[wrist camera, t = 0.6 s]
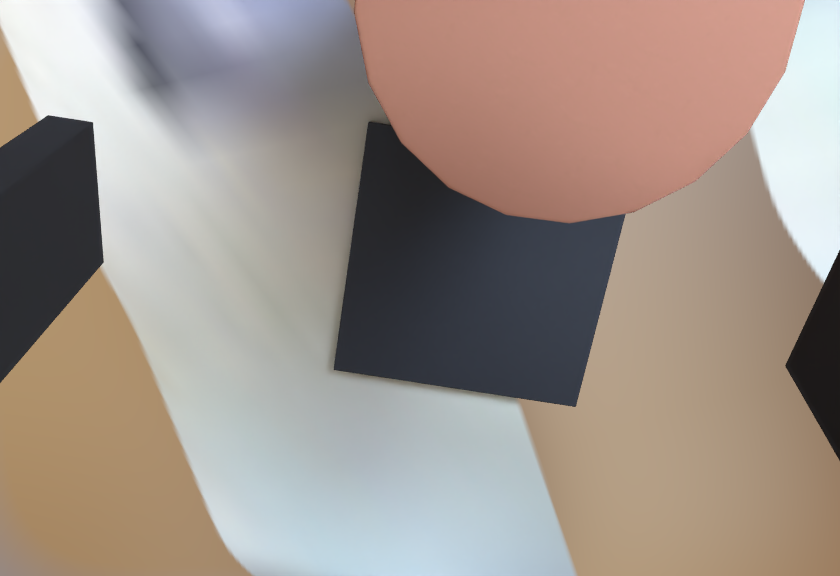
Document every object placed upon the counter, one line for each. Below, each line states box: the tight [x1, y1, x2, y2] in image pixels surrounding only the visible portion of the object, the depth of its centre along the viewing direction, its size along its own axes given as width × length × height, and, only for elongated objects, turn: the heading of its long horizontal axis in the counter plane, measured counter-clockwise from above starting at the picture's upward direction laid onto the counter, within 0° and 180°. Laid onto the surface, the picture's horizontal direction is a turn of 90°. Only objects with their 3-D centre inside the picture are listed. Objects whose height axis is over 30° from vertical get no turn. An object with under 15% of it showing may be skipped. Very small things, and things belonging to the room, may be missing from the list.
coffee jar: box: [354, 0, 805, 223], centre depth 27 cm, size 11×11×18 cm
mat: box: [334, 122, 625, 407], centre depth 39 cm, size 13×13×1 cm
